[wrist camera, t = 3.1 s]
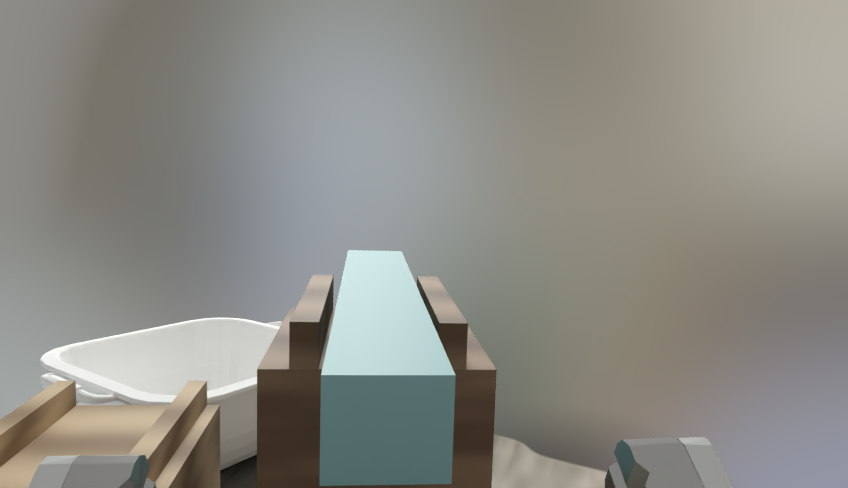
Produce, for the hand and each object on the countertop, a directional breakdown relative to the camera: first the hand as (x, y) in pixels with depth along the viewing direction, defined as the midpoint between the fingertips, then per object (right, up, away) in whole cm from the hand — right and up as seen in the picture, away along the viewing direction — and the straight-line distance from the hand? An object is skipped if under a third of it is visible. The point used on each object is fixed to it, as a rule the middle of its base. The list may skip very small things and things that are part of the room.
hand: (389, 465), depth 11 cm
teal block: (-2, -1, +19) cm, 19 cm away
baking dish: (-26, -21, +68) cm, 76 cm away
